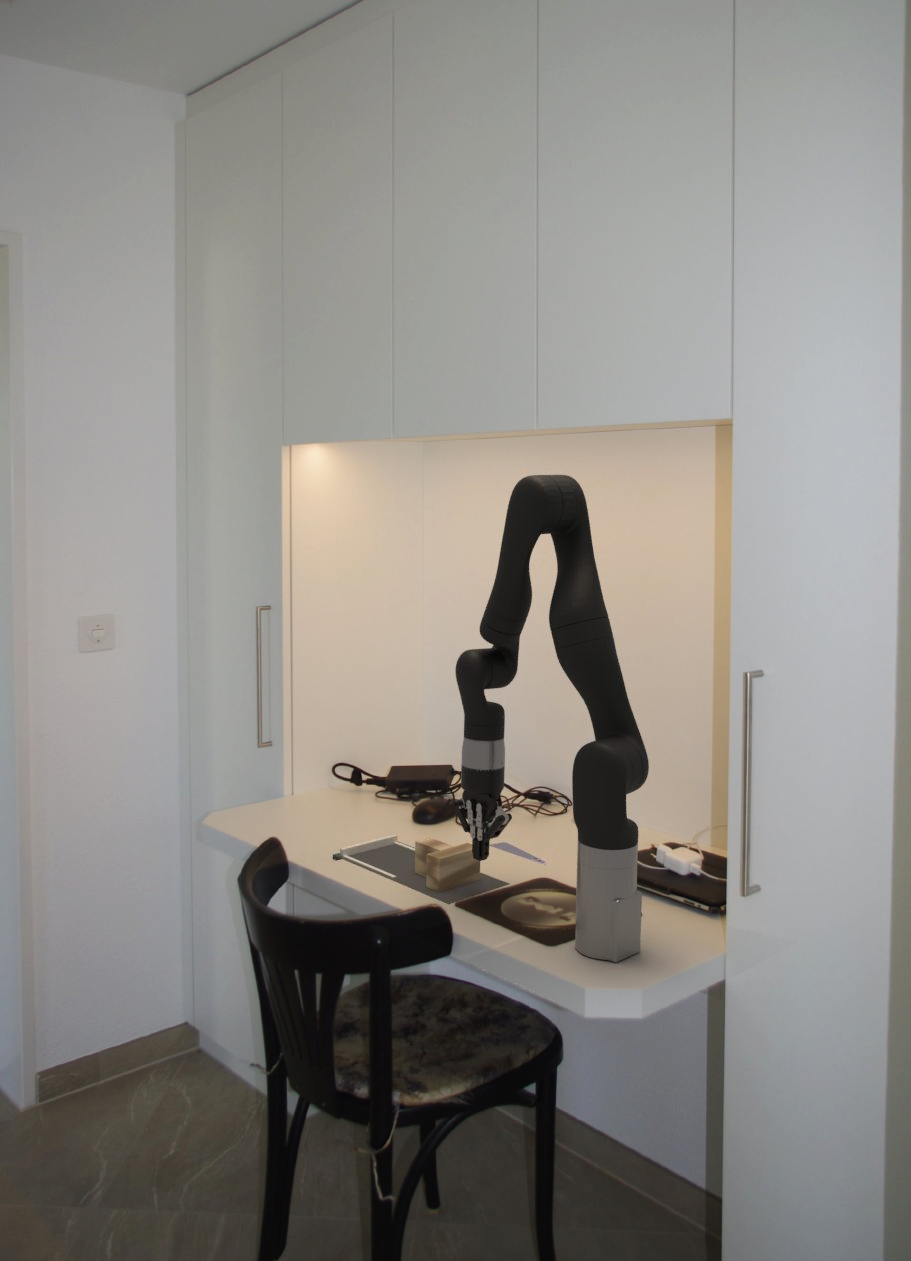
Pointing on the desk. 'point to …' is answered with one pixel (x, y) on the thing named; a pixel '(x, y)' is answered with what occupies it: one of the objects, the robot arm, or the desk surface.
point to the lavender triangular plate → (517, 851)
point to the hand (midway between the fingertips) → (480, 859)
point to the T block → (445, 864)
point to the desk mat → (408, 868)
